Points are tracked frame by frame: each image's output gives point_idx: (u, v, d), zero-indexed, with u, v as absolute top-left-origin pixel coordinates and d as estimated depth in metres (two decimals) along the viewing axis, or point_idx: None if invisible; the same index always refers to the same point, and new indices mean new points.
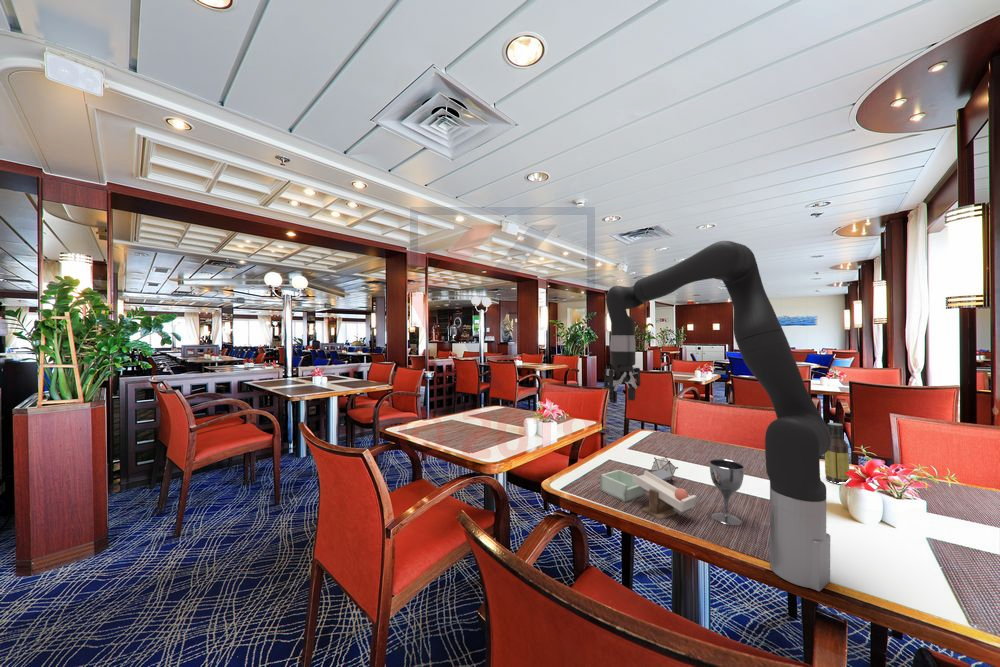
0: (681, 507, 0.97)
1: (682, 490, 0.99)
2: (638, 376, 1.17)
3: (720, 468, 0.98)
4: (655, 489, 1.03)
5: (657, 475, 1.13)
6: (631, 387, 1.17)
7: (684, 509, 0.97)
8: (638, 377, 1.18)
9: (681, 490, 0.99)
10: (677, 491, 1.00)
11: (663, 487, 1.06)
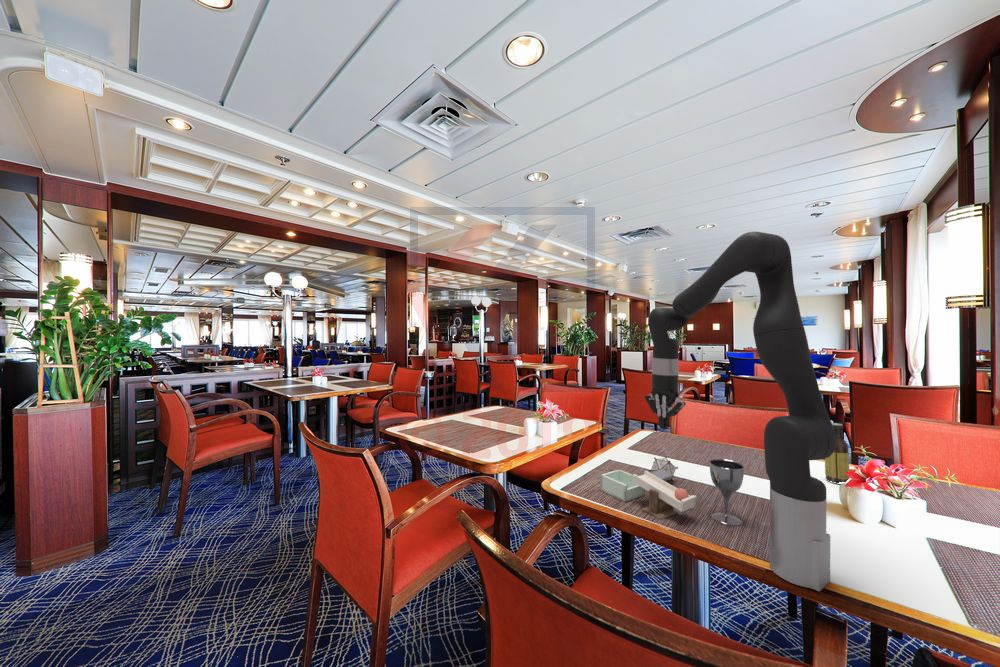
0: (681, 507, 0.97)
1: (682, 490, 0.99)
2: None
3: (720, 468, 0.98)
4: (655, 489, 1.03)
5: (657, 475, 1.13)
6: None
7: (684, 509, 0.97)
8: None
9: (681, 490, 0.99)
10: (677, 491, 1.00)
11: (663, 487, 1.06)
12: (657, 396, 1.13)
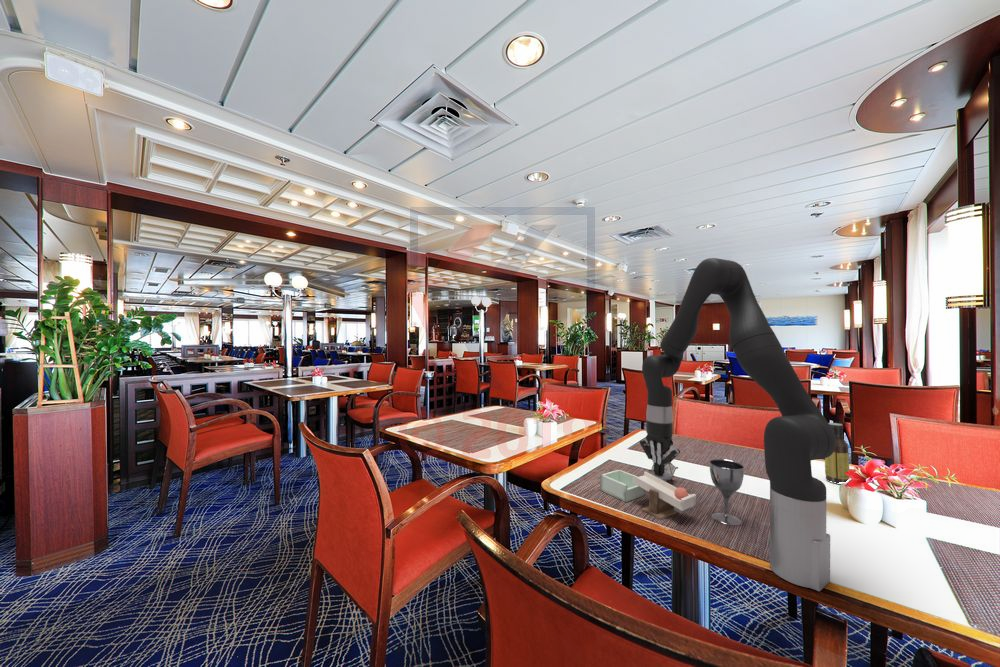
0: (681, 506, 0.97)
1: (682, 489, 0.99)
2: None
3: (720, 468, 0.98)
4: (655, 489, 1.03)
5: (657, 476, 1.13)
6: None
7: (684, 508, 0.97)
8: None
9: (681, 489, 0.99)
10: (677, 490, 1.00)
11: (663, 487, 1.06)
12: (652, 443, 1.14)
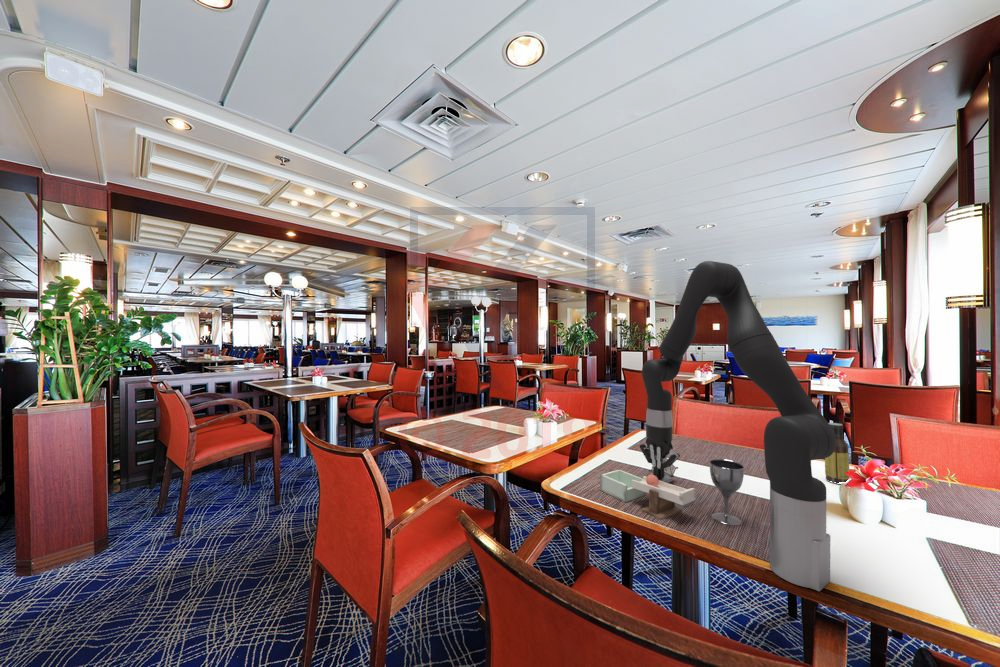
0: (681, 500, 0.97)
1: (656, 481, 1.06)
2: None
3: (720, 468, 0.98)
4: (654, 489, 1.03)
5: None
6: None
7: (684, 502, 0.97)
8: None
9: (655, 481, 1.06)
10: (651, 479, 1.06)
11: (663, 487, 1.06)
12: (652, 447, 1.14)
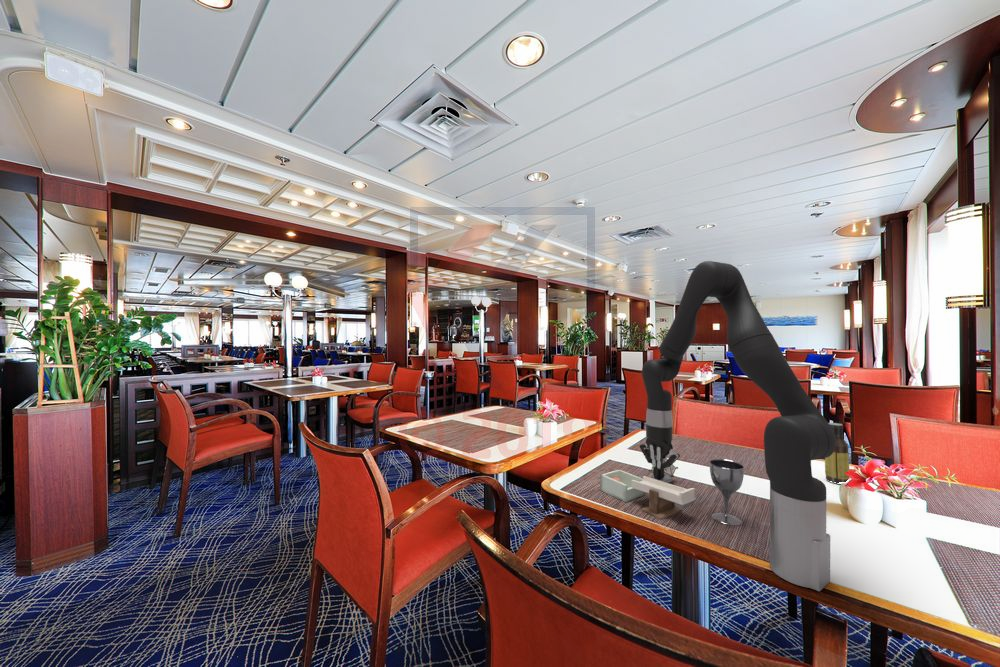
0: (681, 500, 0.97)
1: (612, 478, 1.19)
2: None
3: (720, 468, 0.98)
4: (654, 489, 1.03)
5: (656, 479, 1.13)
6: None
7: (684, 502, 0.97)
8: None
9: (612, 478, 1.19)
10: None
11: (663, 487, 1.06)
12: (652, 447, 1.14)
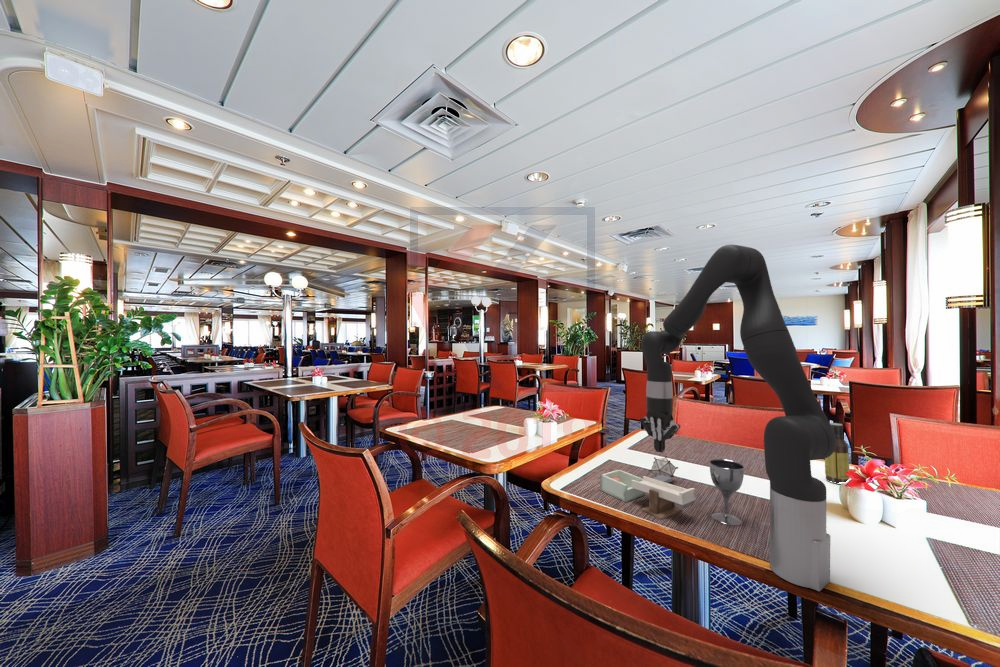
0: (681, 500, 0.97)
1: (612, 478, 1.19)
2: None
3: (720, 468, 0.98)
4: (654, 489, 1.03)
5: (656, 479, 1.13)
6: None
7: (684, 502, 0.97)
8: None
9: None
10: None
11: (663, 487, 1.06)
12: (652, 419, 1.14)
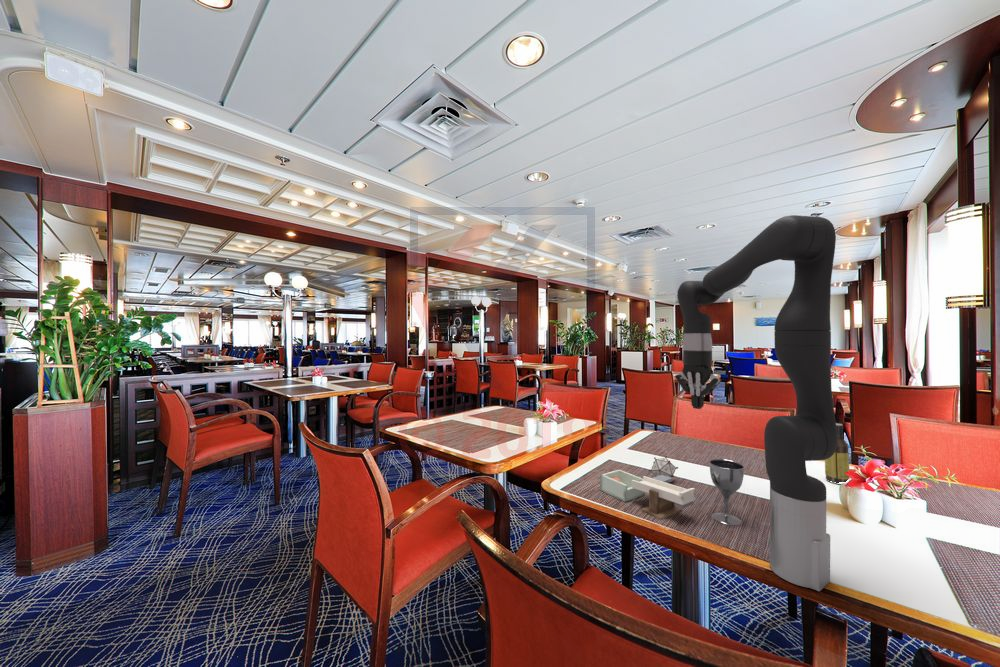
0: (681, 500, 0.97)
1: (612, 478, 1.19)
2: None
3: (720, 468, 0.98)
4: (654, 489, 1.03)
5: (656, 479, 1.13)
6: None
7: (684, 502, 0.97)
8: None
9: None
10: None
11: (663, 487, 1.06)
12: (690, 374, 1.07)
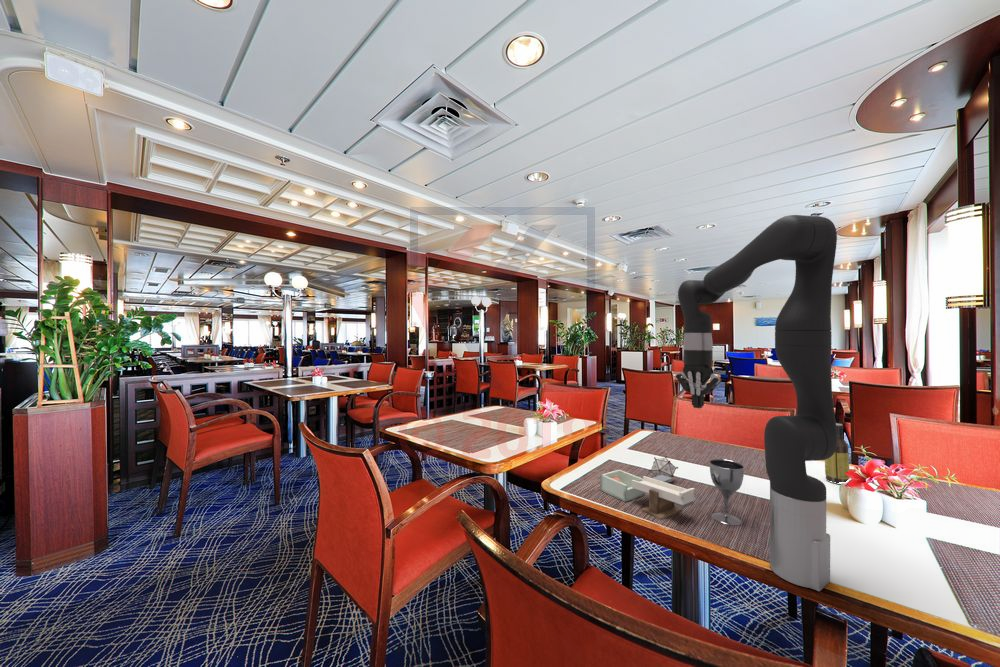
0: (681, 500, 0.97)
1: (612, 478, 1.19)
2: None
3: (720, 468, 0.98)
4: (654, 489, 1.03)
5: (656, 479, 1.13)
6: None
7: (684, 502, 0.97)
8: None
9: None
10: None
11: (663, 487, 1.06)
12: (690, 373, 1.07)
